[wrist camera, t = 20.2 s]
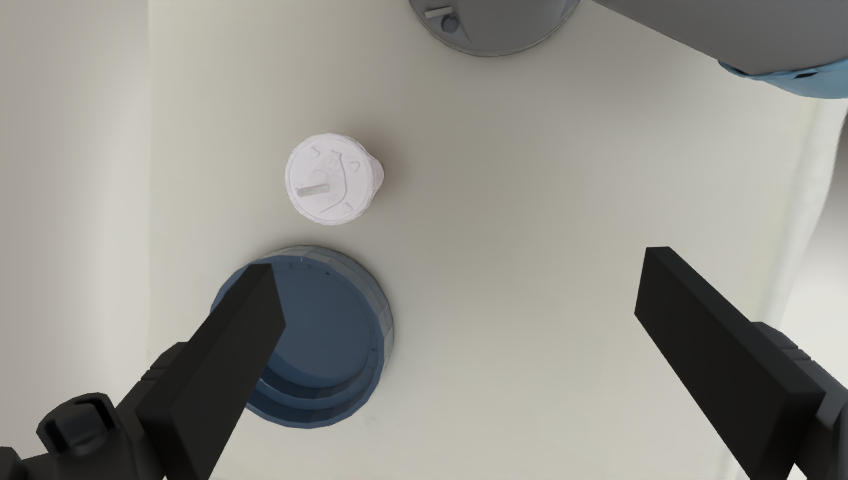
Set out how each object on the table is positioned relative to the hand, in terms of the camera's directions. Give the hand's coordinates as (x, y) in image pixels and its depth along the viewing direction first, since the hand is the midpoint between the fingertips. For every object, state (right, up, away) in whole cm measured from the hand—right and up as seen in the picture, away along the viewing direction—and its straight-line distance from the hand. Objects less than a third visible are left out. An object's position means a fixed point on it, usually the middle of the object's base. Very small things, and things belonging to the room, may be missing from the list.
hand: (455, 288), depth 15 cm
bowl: (-12, -7, +27) cm, 30 cm away
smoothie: (-6, +8, +24) cm, 26 cm away
